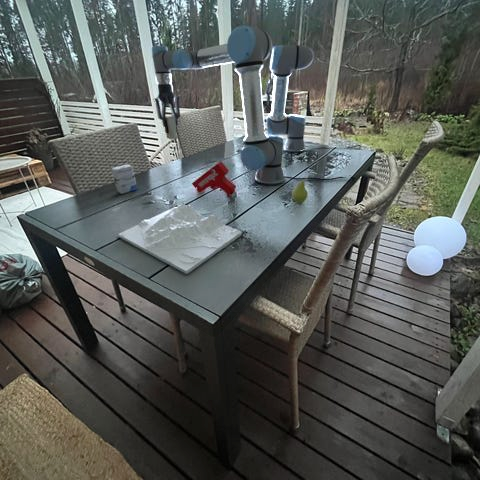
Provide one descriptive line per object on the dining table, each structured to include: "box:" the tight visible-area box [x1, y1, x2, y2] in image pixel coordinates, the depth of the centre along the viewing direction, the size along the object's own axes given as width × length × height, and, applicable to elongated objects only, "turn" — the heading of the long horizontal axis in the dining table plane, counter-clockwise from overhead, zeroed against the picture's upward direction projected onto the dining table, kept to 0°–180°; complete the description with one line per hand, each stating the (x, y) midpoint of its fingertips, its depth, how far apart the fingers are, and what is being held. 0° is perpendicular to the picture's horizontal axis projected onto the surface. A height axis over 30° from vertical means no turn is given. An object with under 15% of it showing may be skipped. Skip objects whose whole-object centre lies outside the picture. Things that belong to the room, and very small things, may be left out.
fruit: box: [291, 174, 311, 204], centre depth 118 cm, size 7×8×12 cm
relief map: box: [117, 202, 243, 275], centre depth 96 cm, size 27×35×5 cm
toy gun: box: [191, 161, 237, 197], centre depth 128 cm, size 18×4×15 cm
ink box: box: [110, 164, 138, 195], centre depth 131 cm, size 8×5×12 cm, turn 135°
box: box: [165, 115, 178, 140], centre depth 148 cm, size 5×4×11 cm
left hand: (171, 132), depth 149 cm, fingers closed on box, 4 cm apart
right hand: (274, 104), depth 210 cm, fingers open, 13 cm apart
